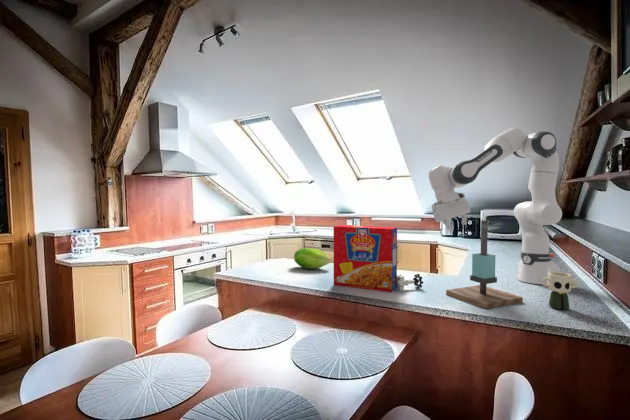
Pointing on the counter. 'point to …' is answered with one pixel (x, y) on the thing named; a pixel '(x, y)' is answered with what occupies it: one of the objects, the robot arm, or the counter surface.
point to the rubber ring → (483, 280)
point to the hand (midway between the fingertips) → (457, 226)
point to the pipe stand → (484, 286)
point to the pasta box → (365, 257)
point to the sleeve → (483, 266)
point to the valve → (407, 282)
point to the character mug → (559, 288)
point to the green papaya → (311, 258)
